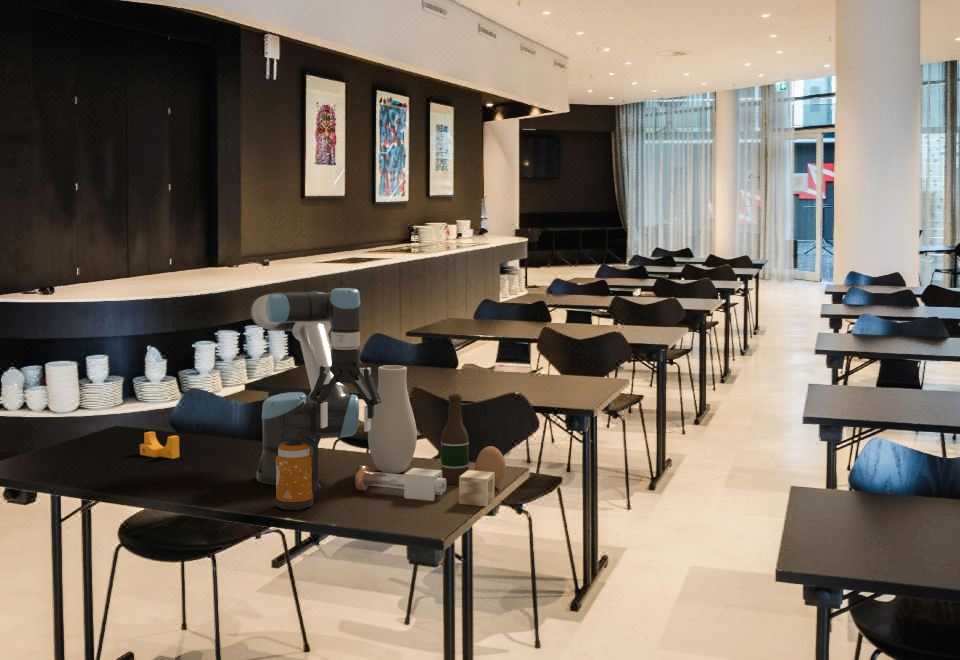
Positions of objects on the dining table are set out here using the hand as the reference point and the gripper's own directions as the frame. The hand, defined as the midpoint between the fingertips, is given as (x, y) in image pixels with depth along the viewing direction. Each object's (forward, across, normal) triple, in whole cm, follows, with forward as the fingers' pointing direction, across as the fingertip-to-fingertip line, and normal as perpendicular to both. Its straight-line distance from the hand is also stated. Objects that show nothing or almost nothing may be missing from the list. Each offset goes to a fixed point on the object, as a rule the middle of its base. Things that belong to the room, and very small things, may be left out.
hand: (345, 428), depth 275 cm
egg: (+16, +36, +13) cm, 42 cm away
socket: (+16, +36, -1) cm, 39 cm away
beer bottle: (+16, +25, +16) cm, 34 cm away
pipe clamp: (+17, -68, +16) cm, 71 cm away
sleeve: (+16, +22, -1) cm, 27 cm away
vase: (+16, +5, +21) cm, 27 cm away
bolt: (+16, +16, -1) cm, 23 cm away
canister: (+16, -4, -19) cm, 26 cm away
